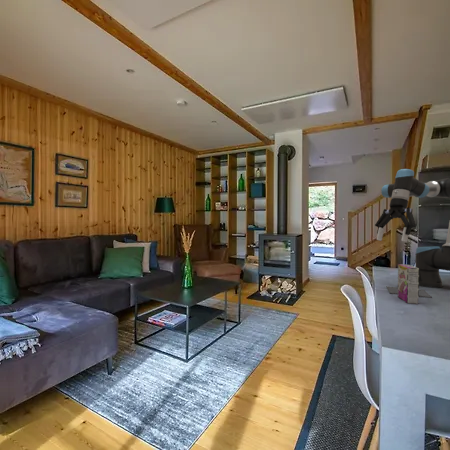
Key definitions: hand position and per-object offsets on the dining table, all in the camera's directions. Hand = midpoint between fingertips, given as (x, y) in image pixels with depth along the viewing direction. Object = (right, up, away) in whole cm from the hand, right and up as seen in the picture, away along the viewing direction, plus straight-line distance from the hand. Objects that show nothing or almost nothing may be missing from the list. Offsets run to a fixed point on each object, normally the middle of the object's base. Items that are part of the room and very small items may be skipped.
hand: (390, 240), depth 137 cm
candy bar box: (+5, -28, -5) cm, 29 cm away
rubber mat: (+15, -28, +11) cm, 34 cm away
